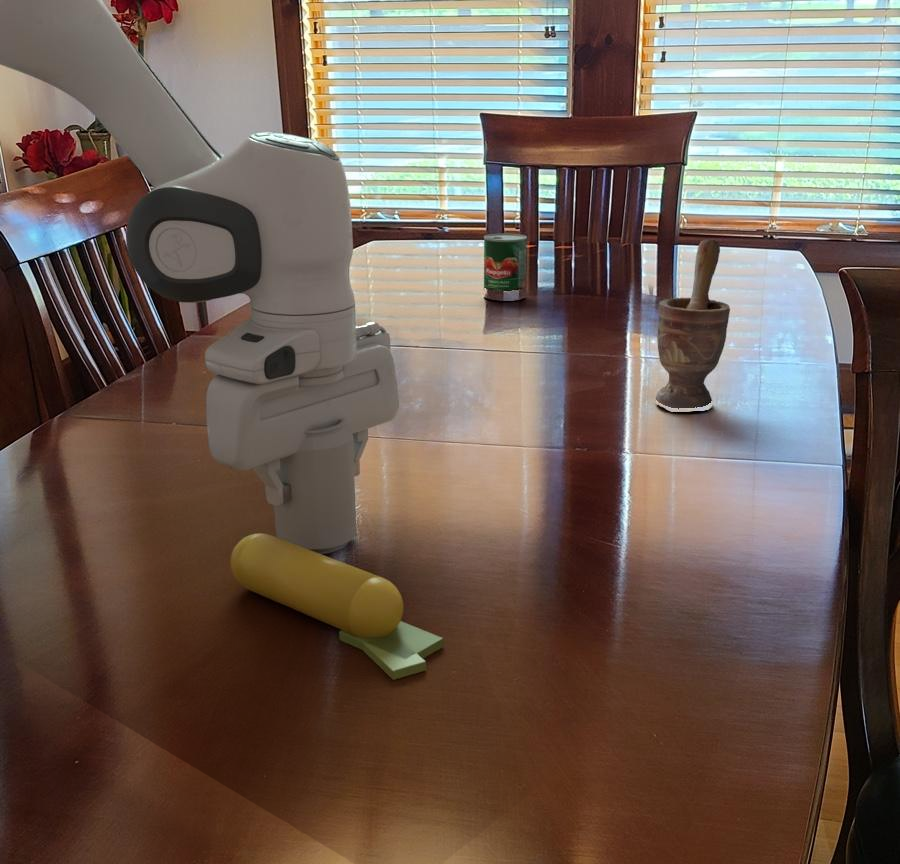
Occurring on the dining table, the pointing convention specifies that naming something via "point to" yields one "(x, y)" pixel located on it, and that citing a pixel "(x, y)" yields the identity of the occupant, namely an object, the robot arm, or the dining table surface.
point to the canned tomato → (504, 262)
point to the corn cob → (336, 600)
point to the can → (319, 492)
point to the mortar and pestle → (692, 335)
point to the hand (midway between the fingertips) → (314, 489)
